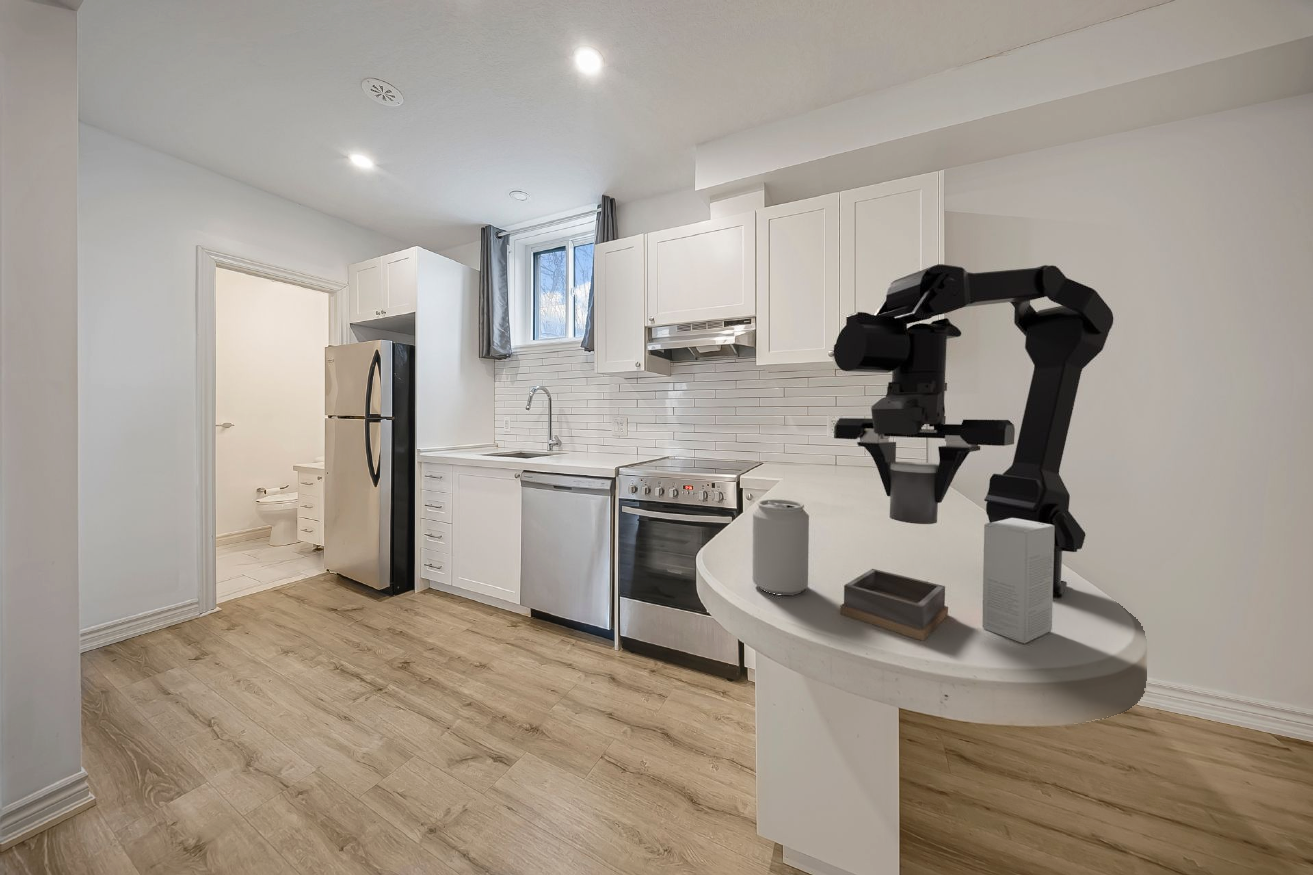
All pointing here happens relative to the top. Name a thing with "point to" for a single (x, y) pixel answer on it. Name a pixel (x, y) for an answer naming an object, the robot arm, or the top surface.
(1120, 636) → the top surface
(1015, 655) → the top surface
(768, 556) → the can
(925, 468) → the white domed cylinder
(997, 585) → the skincare box
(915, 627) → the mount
